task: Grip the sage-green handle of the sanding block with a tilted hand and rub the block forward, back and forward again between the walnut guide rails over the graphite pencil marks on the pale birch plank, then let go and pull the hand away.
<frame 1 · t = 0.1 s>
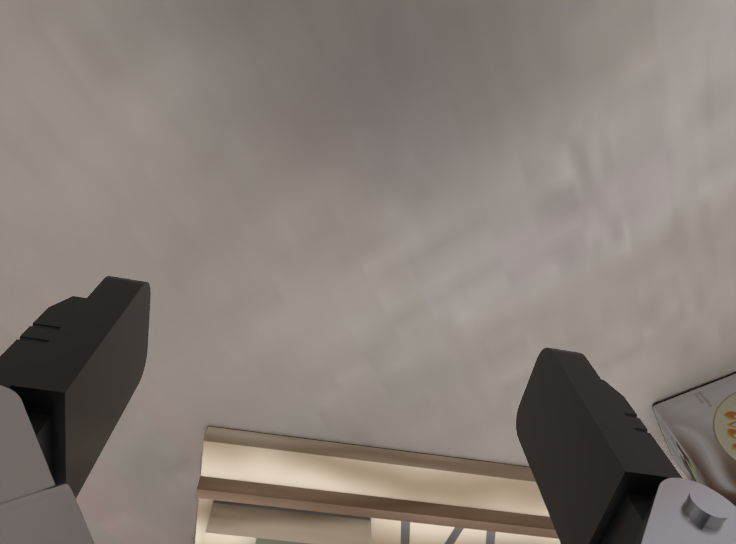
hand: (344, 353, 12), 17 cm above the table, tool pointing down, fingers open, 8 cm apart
birch plank: (383, 523, 40), on the table
coffee box: (733, 406, 36), on the table
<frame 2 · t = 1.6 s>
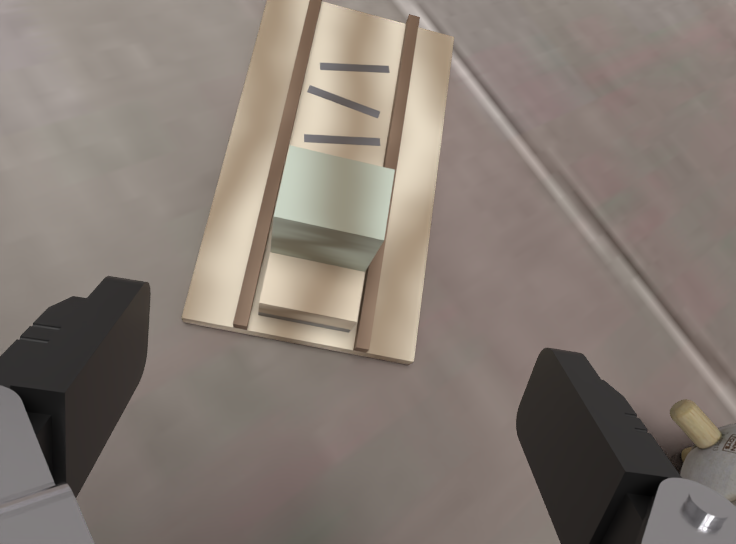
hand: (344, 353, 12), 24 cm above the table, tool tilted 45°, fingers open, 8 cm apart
toy sheep: (707, 515, 37), on the table
birch plank: (333, 167, 40), on the table
sanding block: (326, 223, 32), point 5 cm above the table, slide at 0.0 cm
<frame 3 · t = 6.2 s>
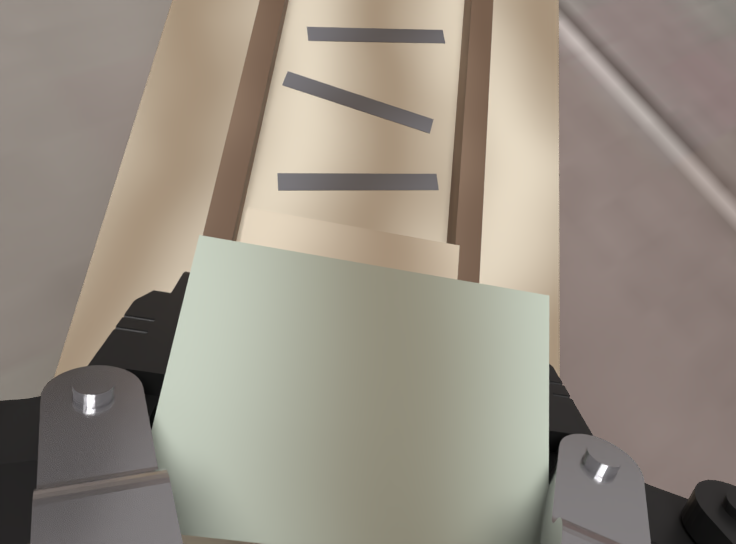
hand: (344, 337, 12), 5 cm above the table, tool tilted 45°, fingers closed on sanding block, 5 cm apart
birch plank: (342, 237, 19), on the table
sanding block: (333, 423, 12), point 5 cm above the table, slide at 0.0 cm, touching gripper
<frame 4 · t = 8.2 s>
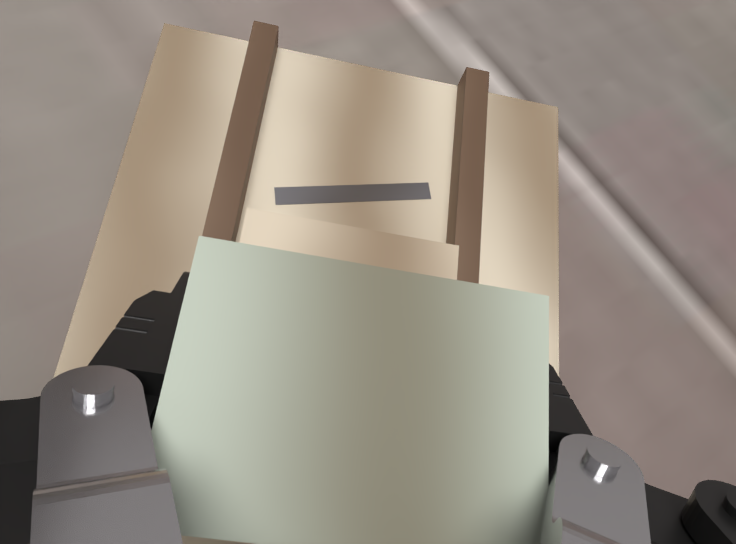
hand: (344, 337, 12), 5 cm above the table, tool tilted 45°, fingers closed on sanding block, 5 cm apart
birch plank: (313, 438, 17), on the table
sanding block: (333, 423, 12), point 5 cm above the table, slide at 6.5 cm, touching gripper
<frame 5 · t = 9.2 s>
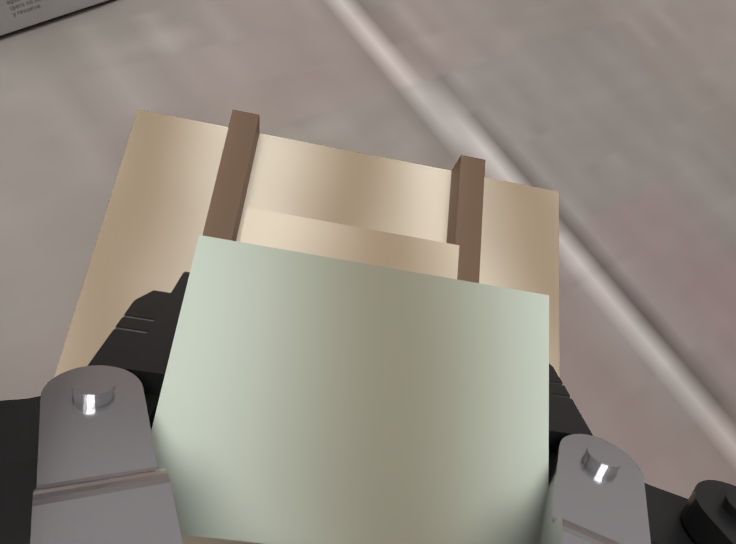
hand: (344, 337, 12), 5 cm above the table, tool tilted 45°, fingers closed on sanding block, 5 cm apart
sanding block: (333, 423, 12), point 5 cm above the table, slide at 10.0 cm, touching gripper
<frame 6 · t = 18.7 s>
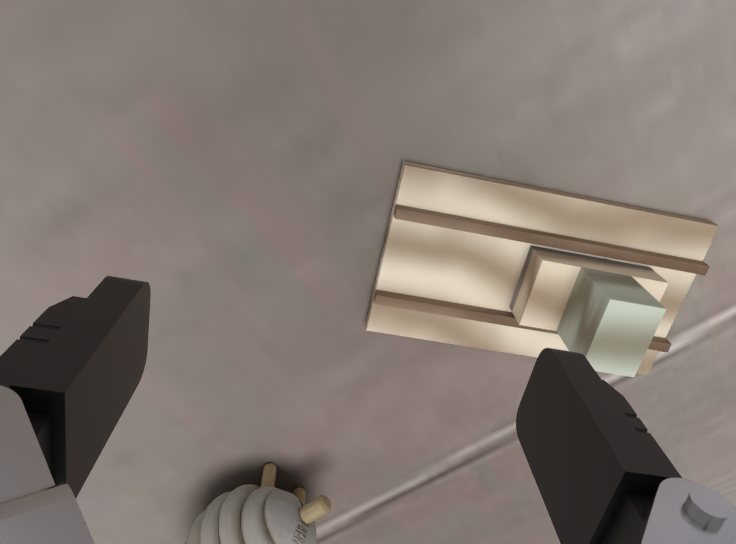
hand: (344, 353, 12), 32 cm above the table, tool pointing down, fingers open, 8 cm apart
toy sheep: (262, 496, 56), on the table
birch plank: (533, 273, 47), on the table
sanding block: (598, 311, 43), point 5 cm above the table, slide at 10.0 cm
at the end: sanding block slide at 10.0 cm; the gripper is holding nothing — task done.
